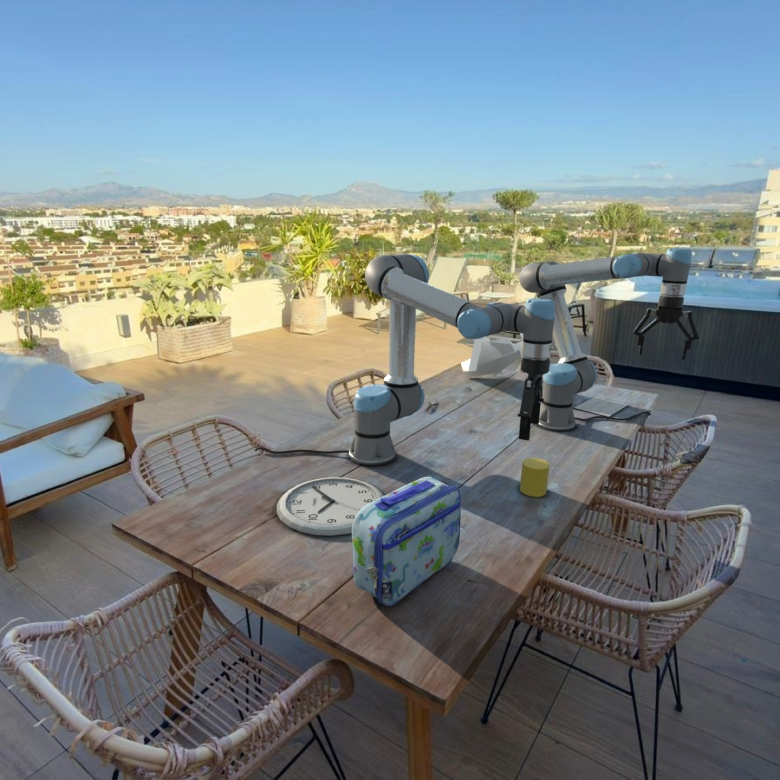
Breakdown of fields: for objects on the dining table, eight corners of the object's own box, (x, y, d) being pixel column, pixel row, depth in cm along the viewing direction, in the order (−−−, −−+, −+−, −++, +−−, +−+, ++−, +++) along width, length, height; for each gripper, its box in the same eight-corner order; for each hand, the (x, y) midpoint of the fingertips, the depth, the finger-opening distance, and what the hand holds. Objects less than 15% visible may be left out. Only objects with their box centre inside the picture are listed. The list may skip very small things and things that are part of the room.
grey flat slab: (608, 416, 214) (573, 407, 224) (608, 416, 214) (573, 408, 224) (628, 404, 229) (594, 396, 238) (628, 405, 229) (594, 397, 238)
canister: (538, 499, 148) (542, 471, 145) (515, 490, 153) (517, 463, 150) (550, 490, 153) (554, 463, 151) (527, 482, 158) (530, 455, 155)
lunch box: (381, 619, 101) (382, 525, 95) (345, 592, 109) (344, 503, 102) (464, 563, 119) (469, 480, 113) (428, 543, 126) (432, 464, 120)
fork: (422, 411, 216) (422, 407, 215) (433, 400, 230) (433, 396, 230) (428, 412, 215) (429, 407, 215) (438, 401, 230) (439, 396, 229)
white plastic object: (482, 418, 266) (461, 395, 241) (463, 346, 288) (443, 318, 264) (553, 394, 254) (538, 368, 229) (528, 321, 276) (512, 289, 251)
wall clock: (392, 527, 129) (268, 531, 127) (391, 533, 130) (269, 537, 127) (383, 473, 158) (282, 475, 155) (383, 478, 158) (282, 480, 156)
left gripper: (541, 369, 128) (534, 449, 134) (557, 349, 150) (550, 419, 156) (511, 366, 131) (505, 444, 137) (531, 347, 153) (524, 415, 159)
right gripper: (632, 294, 178) (622, 355, 185) (716, 299, 169) (703, 362, 176) (631, 292, 185) (622, 350, 191) (712, 296, 176) (700, 358, 182)
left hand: (529, 431), depth 147 cm, fingers open, 13 cm apart
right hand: (661, 356), depth 184 cm, fingers open, 13 cm apart
